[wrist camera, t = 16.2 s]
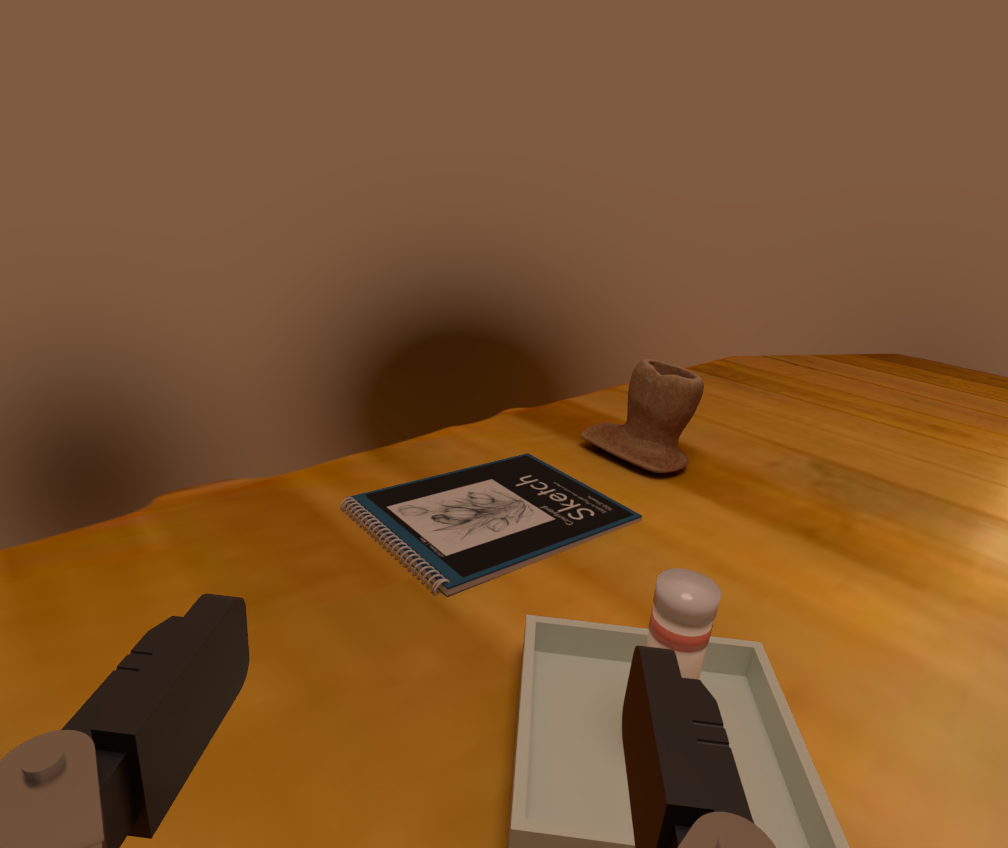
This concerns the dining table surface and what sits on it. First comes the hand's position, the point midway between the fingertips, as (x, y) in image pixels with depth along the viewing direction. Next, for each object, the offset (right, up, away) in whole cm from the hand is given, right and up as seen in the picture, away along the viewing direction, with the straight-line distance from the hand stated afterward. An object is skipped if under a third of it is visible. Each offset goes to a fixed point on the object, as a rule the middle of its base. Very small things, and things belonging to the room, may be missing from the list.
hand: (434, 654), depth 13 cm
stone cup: (+22, 0, +87) cm, 90 cm away
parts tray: (+12, -20, +34) cm, 41 cm away
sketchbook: (0, -7, +67) cm, 67 cm away
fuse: (+12, -19, +34) cm, 40 cm away
